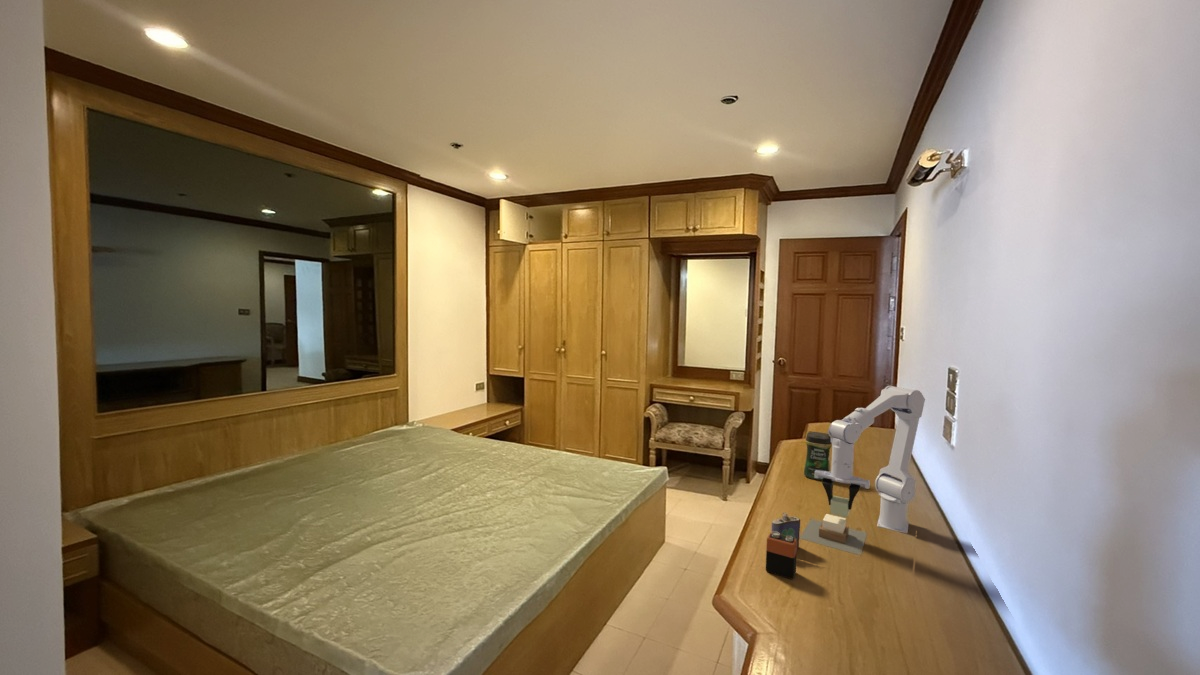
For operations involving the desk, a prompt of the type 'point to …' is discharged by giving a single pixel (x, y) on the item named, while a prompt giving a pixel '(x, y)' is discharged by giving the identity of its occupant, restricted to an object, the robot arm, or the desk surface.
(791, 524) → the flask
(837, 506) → the green block
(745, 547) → the desk surface
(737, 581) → the desk surface
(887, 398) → the robot arm
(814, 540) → the mat
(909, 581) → the desk surface
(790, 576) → the battery
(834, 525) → the white slab
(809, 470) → the coffee jar
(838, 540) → the walnut slab
